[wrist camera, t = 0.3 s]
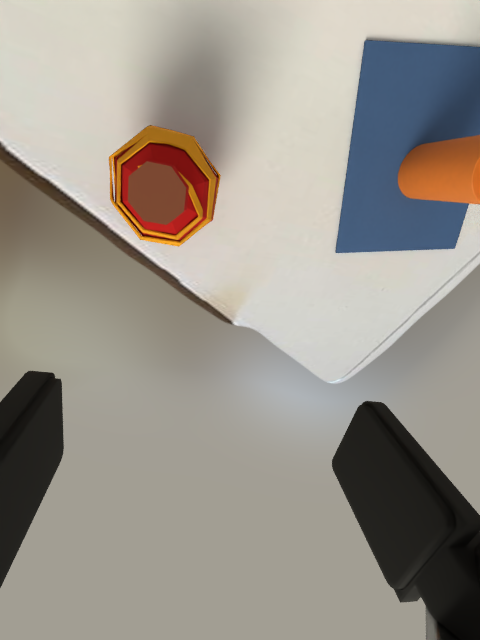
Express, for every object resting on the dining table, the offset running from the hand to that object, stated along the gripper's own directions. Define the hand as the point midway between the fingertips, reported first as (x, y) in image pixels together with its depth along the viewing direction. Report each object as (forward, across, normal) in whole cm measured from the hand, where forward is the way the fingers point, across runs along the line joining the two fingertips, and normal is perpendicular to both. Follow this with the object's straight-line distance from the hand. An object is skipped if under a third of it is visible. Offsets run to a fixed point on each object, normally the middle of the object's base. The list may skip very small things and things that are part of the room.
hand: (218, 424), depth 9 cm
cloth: (+31, -24, -15) cm, 42 cm away
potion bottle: (+31, +4, -5) cm, 32 cm away
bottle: (+31, -26, -14) cm, 42 cm away
